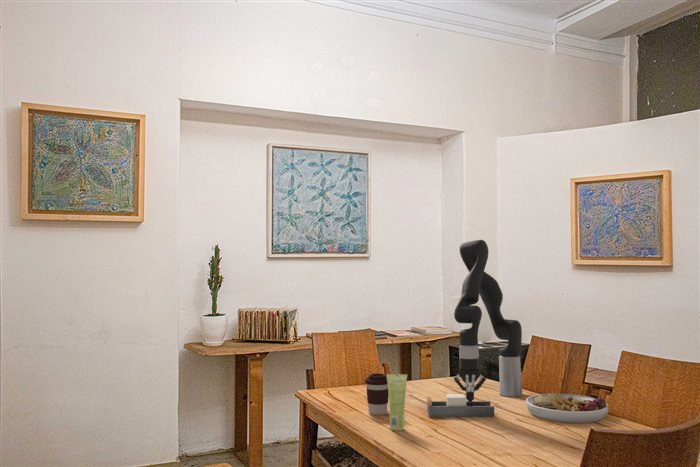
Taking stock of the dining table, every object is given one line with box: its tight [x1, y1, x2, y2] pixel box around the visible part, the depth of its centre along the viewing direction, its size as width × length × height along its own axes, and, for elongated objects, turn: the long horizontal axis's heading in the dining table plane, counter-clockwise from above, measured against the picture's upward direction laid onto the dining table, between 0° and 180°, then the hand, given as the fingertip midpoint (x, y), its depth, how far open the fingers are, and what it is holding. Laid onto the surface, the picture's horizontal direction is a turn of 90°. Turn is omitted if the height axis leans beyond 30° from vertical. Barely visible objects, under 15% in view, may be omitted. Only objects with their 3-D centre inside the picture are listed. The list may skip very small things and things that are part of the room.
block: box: [445, 393, 467, 406], centre depth 233 cm, size 7×6×6 cm
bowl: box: [525, 392, 609, 424], centre depth 231 cm, size 30×30×8 cm
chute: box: [426, 396, 496, 418], centre depth 233 cm, size 25×9×6 cm, turn 87°
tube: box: [385, 373, 408, 432], centre depth 214 cm, size 6×5×20 cm
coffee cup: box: [364, 372, 389, 416], centre depth 237 cm, size 10×10×15 cm
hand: (470, 401), depth 233 cm, fingers closed
